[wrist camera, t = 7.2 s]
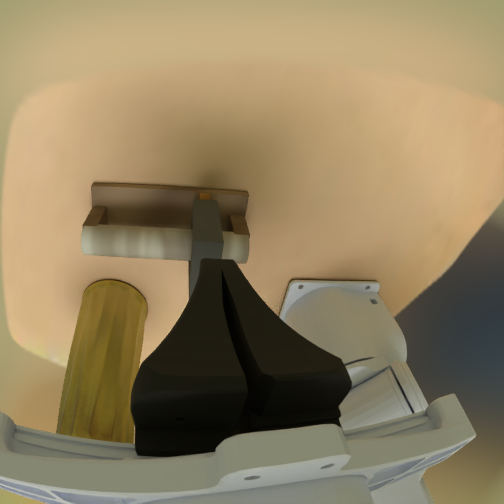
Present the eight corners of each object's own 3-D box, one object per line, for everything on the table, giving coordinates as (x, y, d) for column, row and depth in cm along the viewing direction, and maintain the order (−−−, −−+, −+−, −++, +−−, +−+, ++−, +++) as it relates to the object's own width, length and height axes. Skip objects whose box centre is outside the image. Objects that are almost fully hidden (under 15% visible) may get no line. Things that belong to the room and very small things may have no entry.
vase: (90, 327, 28) (66, 465, 16) (76, 277, 24) (31, 431, 13) (150, 329, 29) (146, 474, 17) (144, 279, 26) (129, 444, 14)
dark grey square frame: (217, 200, 21) (223, 242, 17) (210, 255, 24) (215, 303, 20) (193, 199, 21) (193, 241, 17) (188, 253, 23) (189, 302, 19)
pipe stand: (247, 192, 23) (258, 223, 19) (236, 250, 25) (245, 288, 22) (93, 182, 20) (73, 212, 17) (97, 243, 23) (83, 280, 19)
